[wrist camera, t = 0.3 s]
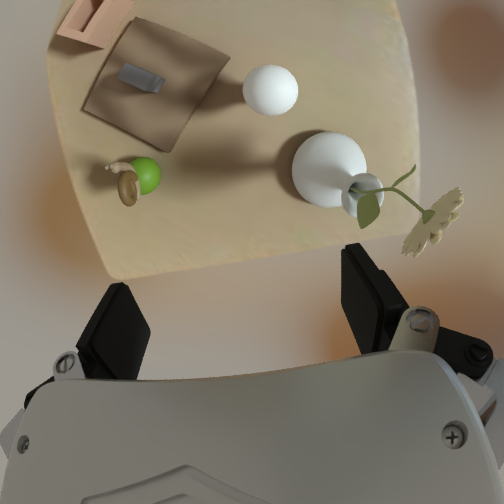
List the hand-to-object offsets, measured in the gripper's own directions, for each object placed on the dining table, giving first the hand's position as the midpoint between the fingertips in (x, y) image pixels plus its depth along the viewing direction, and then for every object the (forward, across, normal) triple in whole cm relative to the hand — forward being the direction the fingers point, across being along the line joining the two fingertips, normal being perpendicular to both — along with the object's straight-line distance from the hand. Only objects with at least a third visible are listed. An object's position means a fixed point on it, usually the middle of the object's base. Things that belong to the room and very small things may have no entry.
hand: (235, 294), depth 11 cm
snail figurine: (+31, +14, -2) cm, 34 cm away
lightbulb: (+31, -5, -9) cm, 32 cm away
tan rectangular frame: (+31, +16, -29) cm, 45 cm away
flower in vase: (+31, -13, +3) cm, 34 cm away
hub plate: (+31, +10, -15) cm, 35 cm away
